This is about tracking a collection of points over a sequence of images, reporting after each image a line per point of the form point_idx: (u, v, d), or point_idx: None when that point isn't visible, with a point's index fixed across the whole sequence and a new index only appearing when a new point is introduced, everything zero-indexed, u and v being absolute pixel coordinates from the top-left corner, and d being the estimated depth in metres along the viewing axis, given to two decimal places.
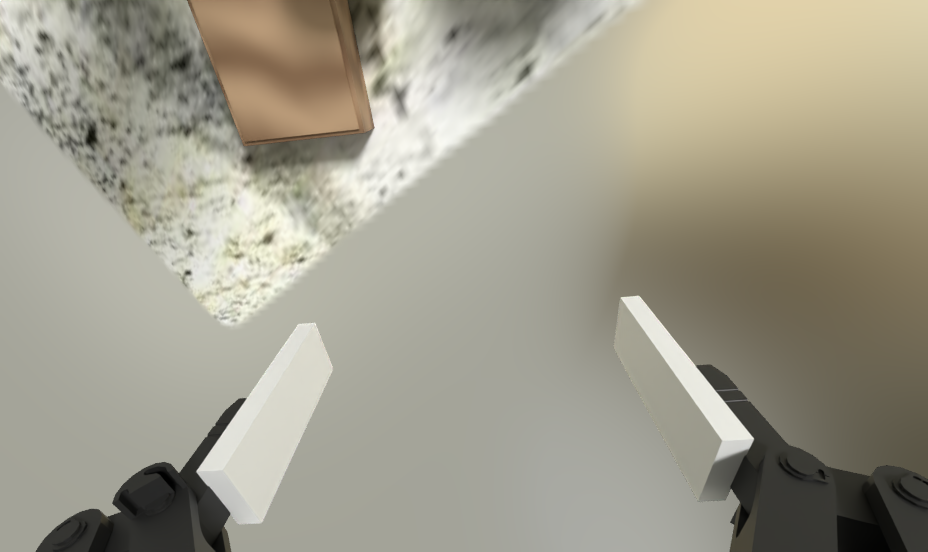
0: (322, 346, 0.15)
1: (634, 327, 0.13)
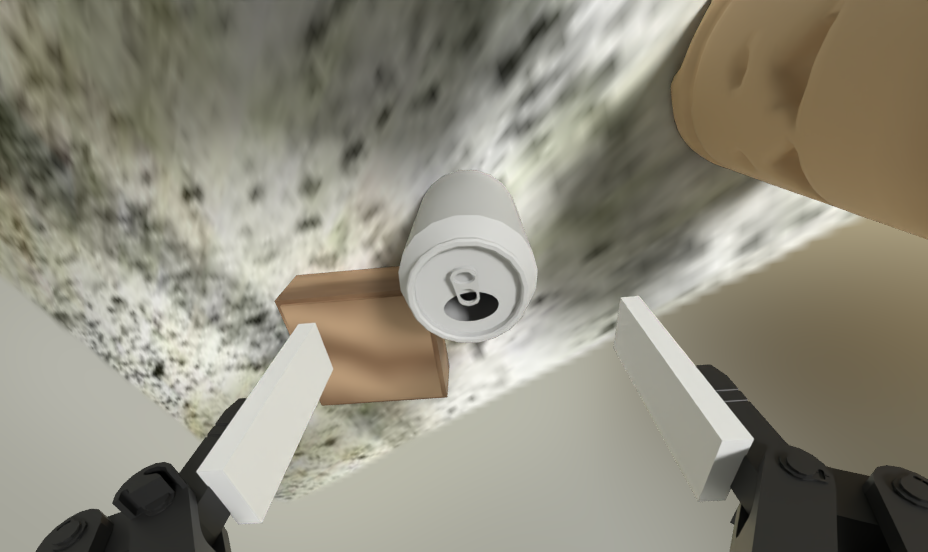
0: (322, 346, 0.15)
1: (634, 327, 0.13)
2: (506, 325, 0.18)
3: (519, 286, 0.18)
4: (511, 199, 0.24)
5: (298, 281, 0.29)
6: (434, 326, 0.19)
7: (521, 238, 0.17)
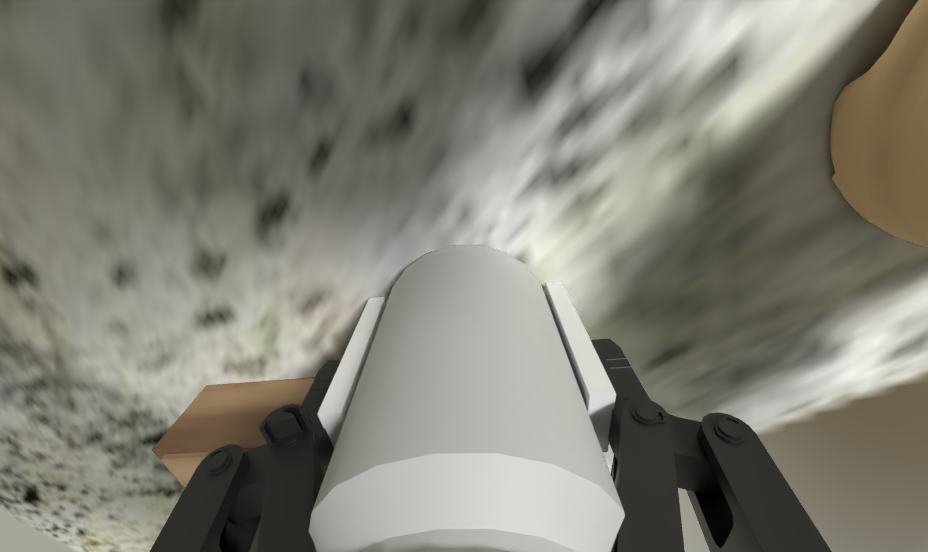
0: None
1: (552, 308, 0.15)
2: None
3: None
4: (544, 301, 0.14)
5: (204, 402, 0.19)
6: None
7: (601, 494, 0.07)
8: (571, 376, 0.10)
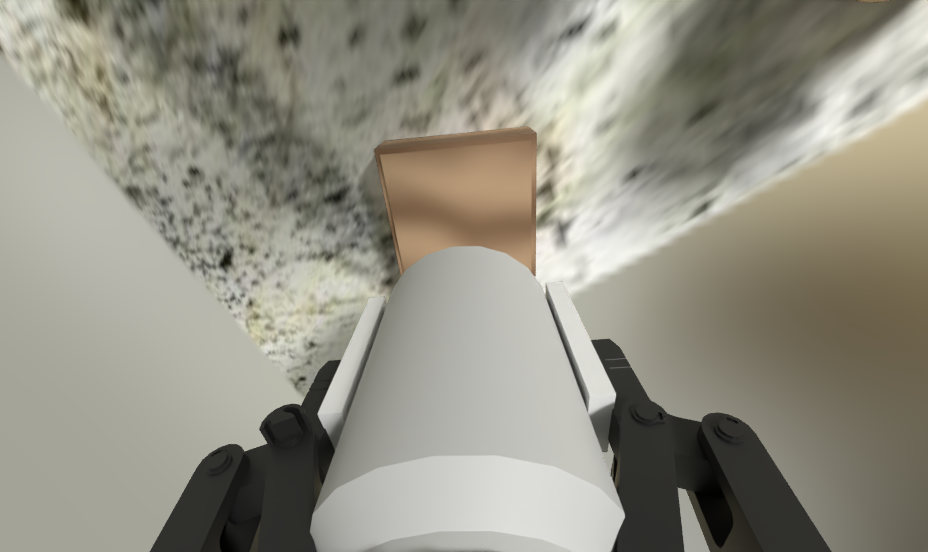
0: None
1: (552, 308, 0.15)
2: None
3: None
4: (544, 302, 0.14)
5: (390, 142, 0.28)
6: None
7: (602, 496, 0.07)
8: (571, 378, 0.10)
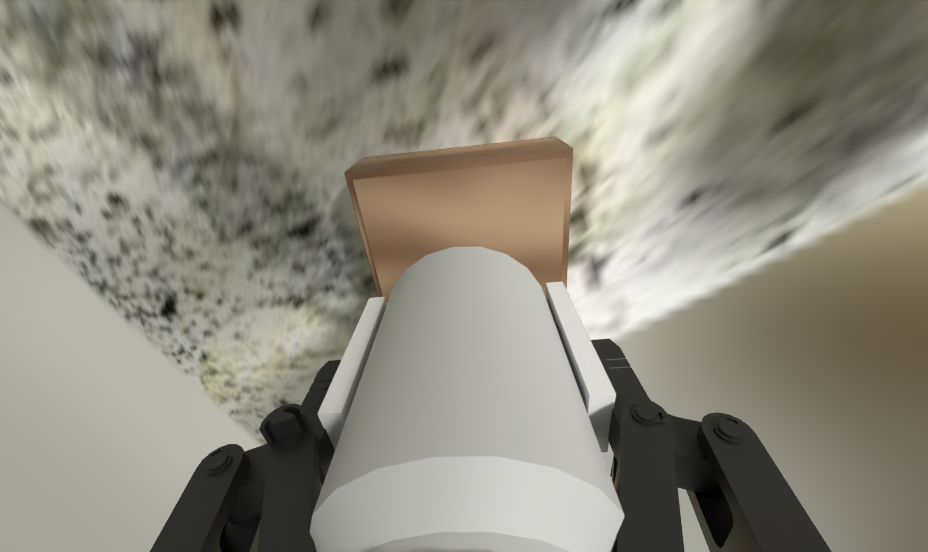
0: None
1: (552, 308, 0.15)
2: None
3: None
4: (544, 302, 0.14)
5: (370, 160, 0.21)
6: None
7: (601, 497, 0.07)
8: (571, 378, 0.10)
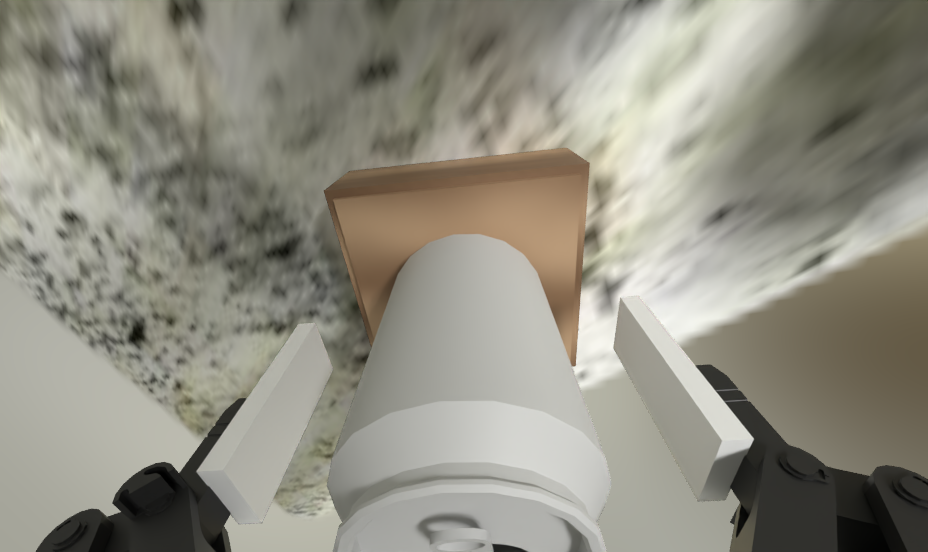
0: (322, 346, 0.15)
1: (634, 327, 0.13)
2: None
3: (578, 536, 0.08)
4: (539, 285, 0.15)
5: (355, 175, 0.18)
6: None
7: (584, 439, 0.08)
8: (562, 349, 0.11)
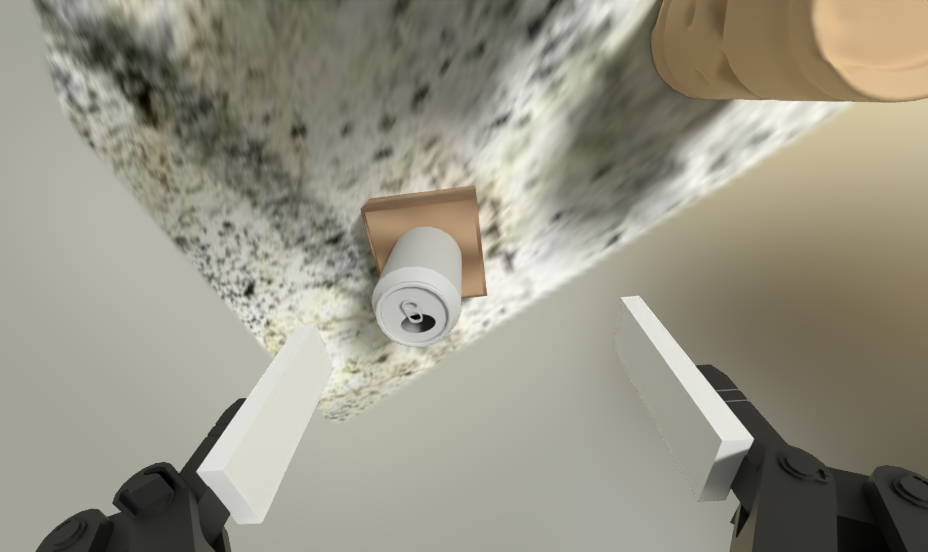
0: (322, 346, 0.15)
1: (634, 327, 0.13)
2: (441, 335, 0.29)
3: (446, 309, 0.28)
4: (454, 247, 0.35)
5: (373, 200, 0.38)
6: (395, 336, 0.29)
7: (447, 279, 0.28)
8: (453, 265, 0.31)
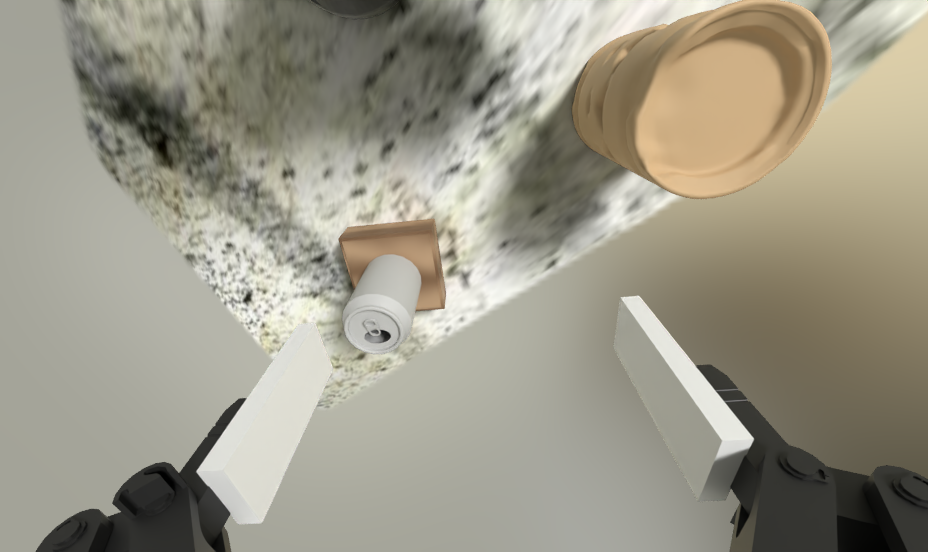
0: (322, 346, 0.15)
1: (634, 327, 0.13)
2: (395, 345, 0.37)
3: (399, 326, 0.36)
4: (412, 272, 0.43)
5: (350, 230, 0.47)
6: (360, 346, 0.37)
7: (399, 304, 0.36)
8: (409, 289, 0.40)
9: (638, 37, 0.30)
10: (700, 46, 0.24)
